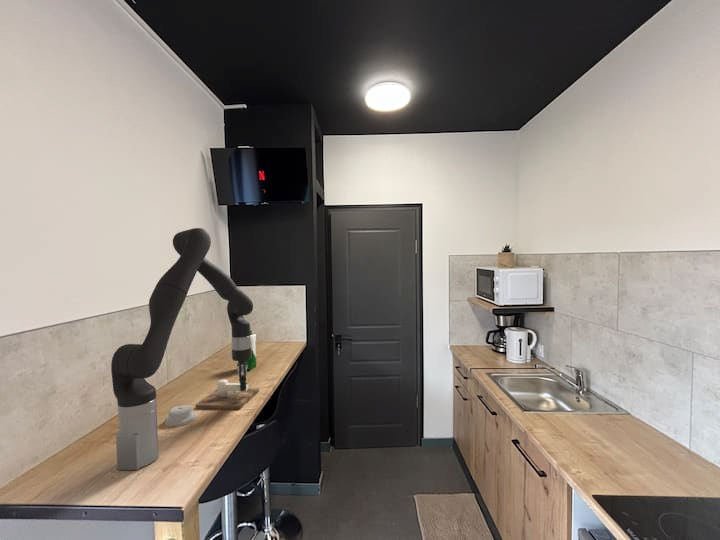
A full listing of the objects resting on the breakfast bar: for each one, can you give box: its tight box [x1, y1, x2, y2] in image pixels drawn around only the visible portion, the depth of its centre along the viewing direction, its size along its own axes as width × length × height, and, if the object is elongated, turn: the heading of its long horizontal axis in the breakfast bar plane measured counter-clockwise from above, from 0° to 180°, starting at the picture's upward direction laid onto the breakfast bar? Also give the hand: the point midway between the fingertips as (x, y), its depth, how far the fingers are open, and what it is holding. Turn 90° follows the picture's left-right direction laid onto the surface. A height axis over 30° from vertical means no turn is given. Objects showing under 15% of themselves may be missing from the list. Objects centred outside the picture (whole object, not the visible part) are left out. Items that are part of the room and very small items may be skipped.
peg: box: [216, 378, 249, 397], centre depth 140 cm, size 4×13×6 cm, turn 84°
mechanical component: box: [164, 404, 197, 427], centre depth 123 cm, size 10×4×10 cm
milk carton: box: [237, 329, 257, 371], centre depth 182 cm, size 9×9×20 cm
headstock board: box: [195, 387, 260, 410], centre depth 141 cm, size 18×18×2 cm
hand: (243, 390), depth 137 cm, fingers closed
